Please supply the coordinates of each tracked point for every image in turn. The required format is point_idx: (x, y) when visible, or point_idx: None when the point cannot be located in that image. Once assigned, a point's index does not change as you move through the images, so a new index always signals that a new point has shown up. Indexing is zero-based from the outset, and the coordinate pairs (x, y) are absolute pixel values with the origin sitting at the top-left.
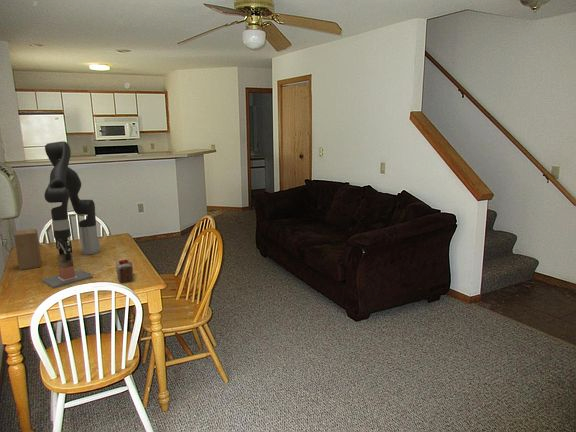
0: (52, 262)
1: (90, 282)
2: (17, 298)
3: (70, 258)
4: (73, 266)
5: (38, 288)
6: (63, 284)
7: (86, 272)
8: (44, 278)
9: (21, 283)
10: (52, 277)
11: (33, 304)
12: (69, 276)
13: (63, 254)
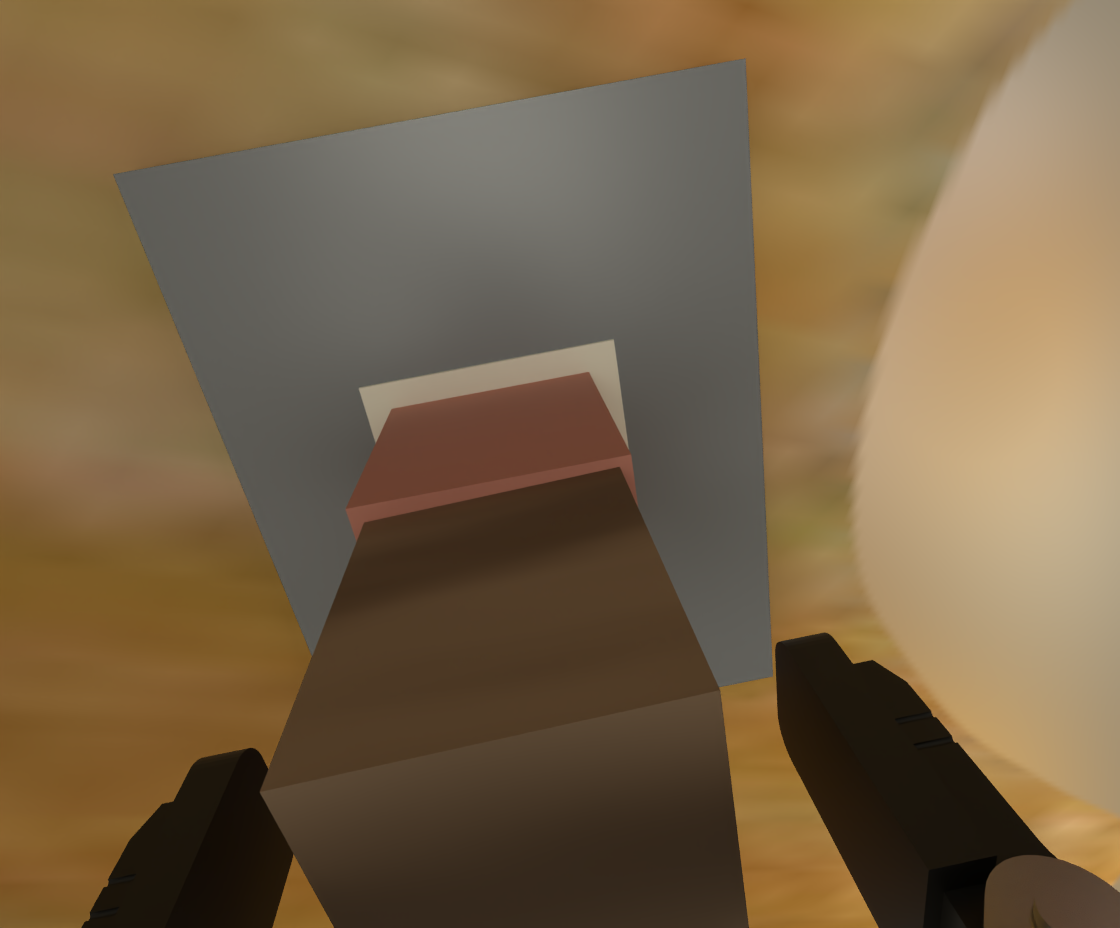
0: None
1: (941, 185)
2: (785, 909)
3: (916, 704)
4: (629, 461)
5: None
6: (762, 558)
7: (425, 117)
8: None
9: (317, 897)
10: None
11: (1060, 817)
12: None
13: (469, 917)
